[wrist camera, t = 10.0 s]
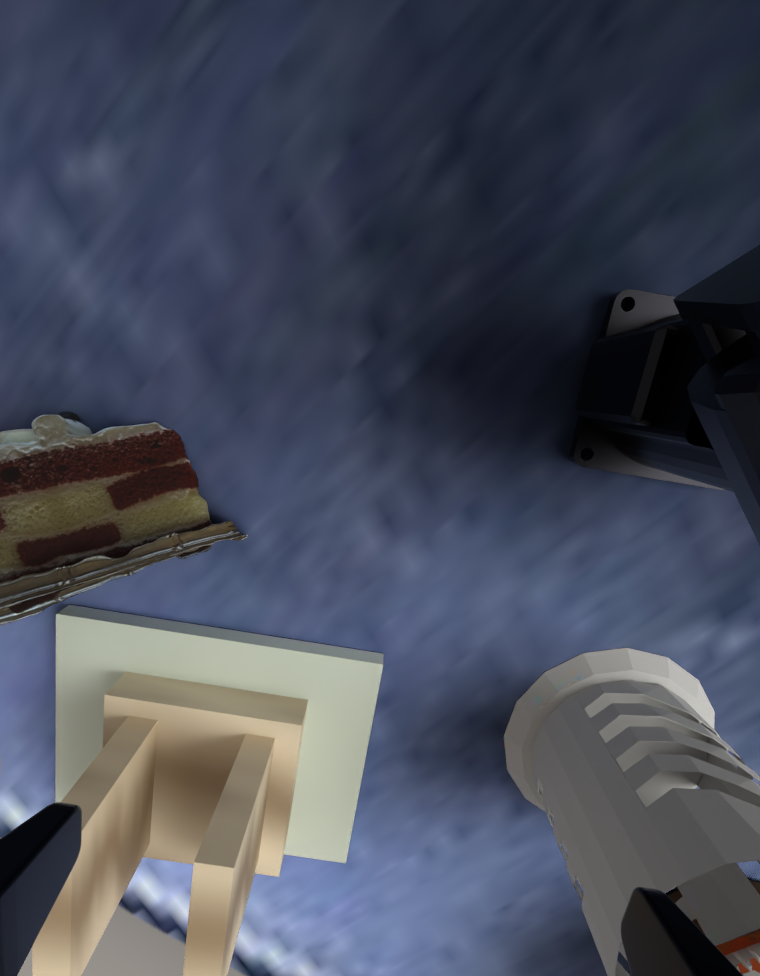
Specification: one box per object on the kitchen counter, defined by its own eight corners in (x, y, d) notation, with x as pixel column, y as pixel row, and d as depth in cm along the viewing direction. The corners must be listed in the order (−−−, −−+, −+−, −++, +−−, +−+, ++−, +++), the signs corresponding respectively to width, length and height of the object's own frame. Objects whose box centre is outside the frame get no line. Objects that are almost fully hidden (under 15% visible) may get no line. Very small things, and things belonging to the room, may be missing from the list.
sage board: (383, 653, 20) (383, 664, 19) (347, 846, 22) (345, 863, 21) (69, 604, 19) (55, 613, 19) (67, 806, 22) (55, 821, 21)
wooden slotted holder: (286, 842, 21) (243, 1038, 15) (119, 818, 21) (2, 1006, 14) (308, 699, 19) (270, 851, 13) (126, 671, 19) (-4, 811, 13)
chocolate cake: (212, 366, 18) (-318, 368, 10) (265, 533, 17) (-257, 681, 9) (159, 447, 25) (-173, 487, 17) (194, 568, 24) (-133, 667, 16)
